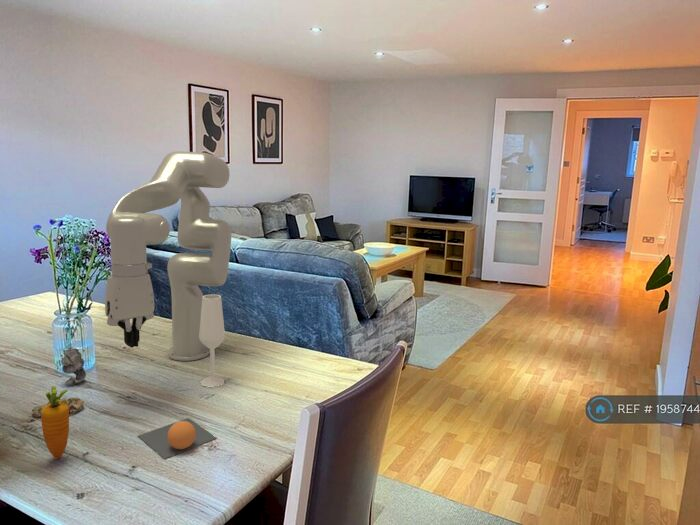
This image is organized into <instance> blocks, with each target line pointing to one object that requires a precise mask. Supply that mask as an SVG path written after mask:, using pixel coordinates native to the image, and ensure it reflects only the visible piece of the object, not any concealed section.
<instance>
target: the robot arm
mask: <svg viewBox="0 0 700 525" xmlns="http://www.w3.org/2000/svg"><path fill="white" fill-rule="evenodd" d="M229 179H230V168H229V166H228V164H227V162H226V161H225V160H223V159H222V158H220V157H217V156H215V155H213V154H210V153H207V152H202V151H201V152H199V151H198V152H197V151H172V152H170V153H168V154H167V155H165V156H164V158H163V159H162V161H161V163H160V165H159V166H158V167H157V169H156V171H155V173H154V174H153V176H152V177H151V180H150V181H149V182H147V183H145V184H143V185H141V186H139V187H137V188H135V189H134V190H131V191H129V192H128V193H126V194H125V195H123V196H122V197H120V198H119V200H118V201H117V202H116V203H115V205H114V207H113V208H112V210H111V212H110V214H109V216H108V217H107V221H106V225H105V226H106V228H105V231H106V233H107V236H108V238H109V240H110V243H109V244H110V265H111V275H109V276H108V277H107V280H106V285H105V287H106V288H105V296H104V298H105V299H104V313H105V316H106V317H107V321H106V324H107V325H108V326H111V327H120V328H121V329H122V330H123V340H124V341H123V342H124V344H125V345H126V346H128V347H129V348H134V347H139V342H140V330H141V329H142V327H143V325H144V324H145V323H146V322H147V321H149V320H151V319H153V318H154V317H155V313H154V312H155V296H154V289H153V284H152V279H151V276H150V274H149V273H148V271H149V269H152V268H153V264H152V262H148V261H147V246H148V245H149V246H150V245H152V246H154V245H155V246H156V245H160V244H162V243H163V242H165V241H166V239H168V237H169V235H170V231H171V226H170V223H169V221H168V220H167V218H166V217H165V216H163V215H161V214H157V213H149V212H153V211H158V210H162V209H165V208H168V207H171V206H174V205H176V204H177V203H178V202H179V201H180V210H179V211H180V212H179V219H178V227H177V237H176V238H177V242H178V245H179V246H180V247H181V248H183V249H188V250H198V251H211V252H212V254H208V253H198V252H197V253H194V252H179V253H176V254H174V255H172V256H171V257H170V258H169V260H168V261H167V276H168V279H169V286H170V291H171V292H170V293H171V296H170V297H171V325H172V326H171V329H172V330H171V332H172V333H171V335H172V347H171V348H169V349H167V353H166V354H167V357H168V358H169V359H171V360H175V361H179V362H180V361H182V362H187V361H188V362H189V361H190V362H191V361H196V360H201V359H204V358H206V357H208V356H210V349H209V348H207V347H206V346H205V345H204V344H203V343H202V342H201V341H200V339H199V332H200V320H201V309H202V297H203V296H204V294H203V292H202V290H201V288H200V286H203V287H220V286H223V285H224V284H225V283H226V281H227V278H228V274H229V273H228V272H229V264H230V256H231V248H232V229H231V226H230V224H229V222H227V221H226V220H223V219H216V218H210V210H211V209H210V208H211V205H210V204H211V203H210V200H209V199H208V197H207V196H206V194H205V193H204V192H203V190H202V189H201V188H210V189H211V188H212V189H222V188H225V186H227V185H228V182H229Z"/></svg>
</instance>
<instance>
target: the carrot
mask: <svg viewBox="0 0 700 525" xmlns="http://www.w3.org/2000/svg"><path fill="white" fill-rule="evenodd" d="M50 389H51V391H47V392H45V397H46V398H47V399H48V402H49V401H50V403H51V404H49V405H47V406H45V407H43V408H42V412H41V418H40V420H41V421H40V422H41V428H42V436H43V440H44V443H45V445H46V447H47V449H48V452H49V453H50V454H51V456H52V457H53V458H54V459H56V460H60V459H61V458H62V457H63V455H64V452H65V450H66V447H67V445H68V439H69V438H68V437H69V430H70V416H69V407H68V405H67V404H65V403H60V402H59V401H60V399H62V397H63V396H64V394H66V393H67V392H68V391H69V390H68V389H64V390H62V391H61V392H60V393H59V395H57V394H58V390H57V387H56V386H55V385H54V386H51V388H50Z"/></svg>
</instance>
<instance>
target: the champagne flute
mask: <svg viewBox="0 0 700 525" xmlns="http://www.w3.org/2000/svg"><path fill="white" fill-rule="evenodd" d="M223 312H224V310H223V302H222V296H221V295H220V294H205V295H203V297H202V309H201V320H200V332H199V339H200V341H201V342H202V343H203V344H204V345H205V346H206V347H207V348H209V349H210V354H209V365H210V366H209V374H210V375H209V376H207V377H206V378H204V379H202V380H200V382H201V384H202V385H203V386H210V387H211V386H218V385H221V384H223V383H224V380H225V379H224V378H222V377H219V376H217V375H216V374H215V373H216V372H215V368H216V367H215V366H216V365H215V364H216V363H215V358H216V357H215V349H216V348H218V347H219V346H220V345H221V344H222V343H223V342H224V340H225V338H226V333H225V332H226V331H225V322H224V313H223ZM223 379H224V380H223ZM224 384H225V383H224ZM224 384H223V385H224ZM203 386H202V387H203ZM221 386H222V385H221Z"/></svg>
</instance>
